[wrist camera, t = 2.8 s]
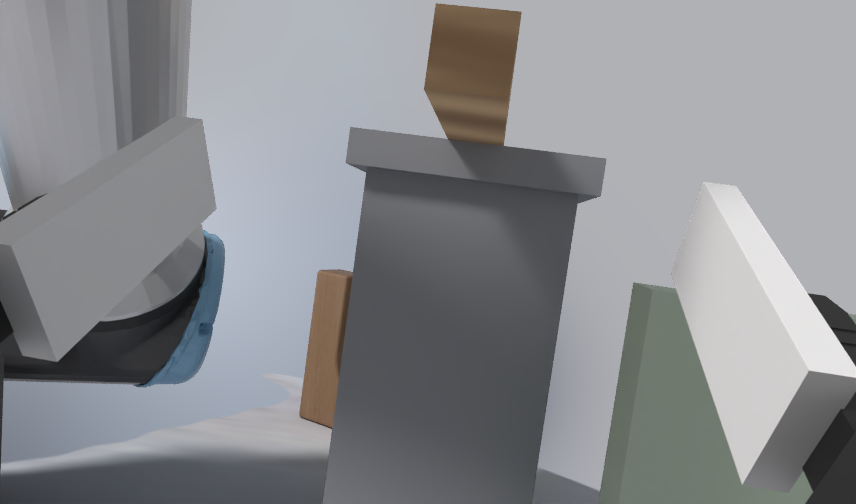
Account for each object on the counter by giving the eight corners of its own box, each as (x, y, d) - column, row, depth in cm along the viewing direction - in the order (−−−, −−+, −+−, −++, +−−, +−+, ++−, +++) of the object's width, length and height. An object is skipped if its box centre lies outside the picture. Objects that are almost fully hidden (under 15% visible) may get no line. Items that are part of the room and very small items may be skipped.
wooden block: (380, 428, 68) (400, 281, 67) (359, 439, 64) (380, 282, 63) (320, 408, 72) (339, 269, 71) (297, 417, 68) (316, 269, 67)
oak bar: (508, 99, 20) (521, 11, 20) (424, 89, 20) (435, 3, 20) (499, 175, 48) (504, 140, 47) (463, 171, 48) (468, 135, 48)
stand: (523, 695, 32) (606, 158, 30) (283, 640, 33) (350, 127, 32) (511, 516, 52) (561, 187, 50) (361, 487, 53) (405, 167, 51)
